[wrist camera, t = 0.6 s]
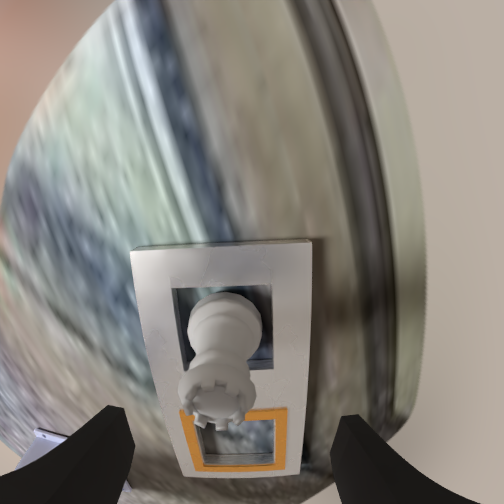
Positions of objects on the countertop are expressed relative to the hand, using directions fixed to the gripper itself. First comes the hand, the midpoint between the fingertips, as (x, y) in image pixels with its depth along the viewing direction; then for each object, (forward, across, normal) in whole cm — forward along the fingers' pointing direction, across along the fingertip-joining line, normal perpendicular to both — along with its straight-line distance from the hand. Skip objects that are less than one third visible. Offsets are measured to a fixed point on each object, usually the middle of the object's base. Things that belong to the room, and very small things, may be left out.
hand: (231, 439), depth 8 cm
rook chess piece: (+10, +1, 0) cm, 10 cm away
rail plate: (+10, 0, +6) cm, 11 cm away
